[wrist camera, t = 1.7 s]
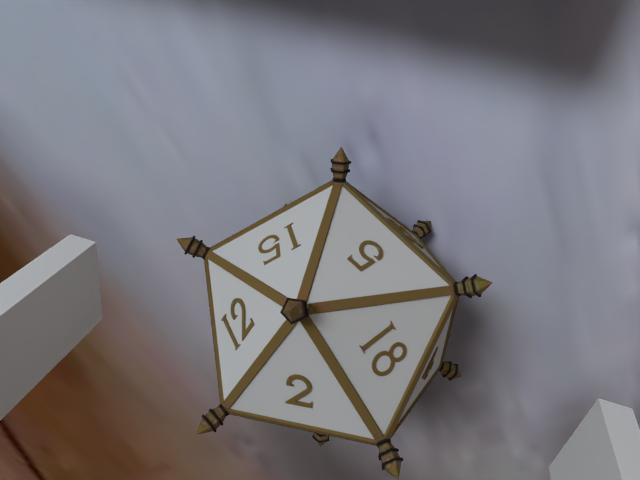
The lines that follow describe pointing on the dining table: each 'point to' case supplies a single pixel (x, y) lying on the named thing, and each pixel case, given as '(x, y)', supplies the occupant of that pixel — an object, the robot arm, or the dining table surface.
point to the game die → (329, 317)
